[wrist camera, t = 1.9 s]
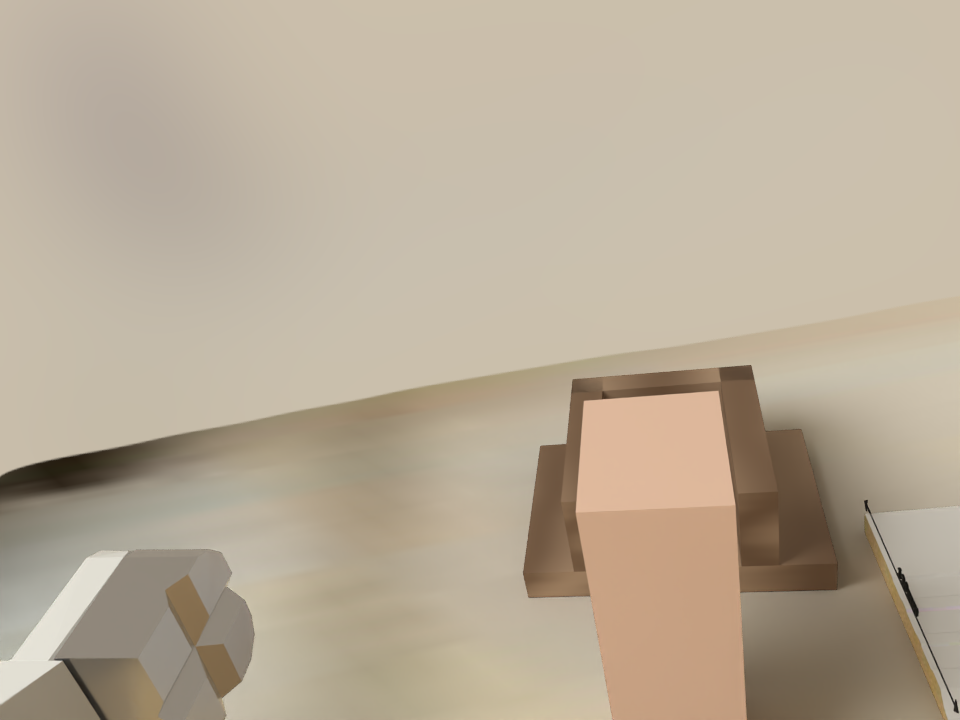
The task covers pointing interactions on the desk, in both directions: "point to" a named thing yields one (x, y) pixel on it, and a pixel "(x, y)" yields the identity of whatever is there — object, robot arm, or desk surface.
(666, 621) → the clay strip
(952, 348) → the desk surface
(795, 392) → the desk surface
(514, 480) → the desk surface
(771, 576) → the slotted wooden stand
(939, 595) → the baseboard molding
